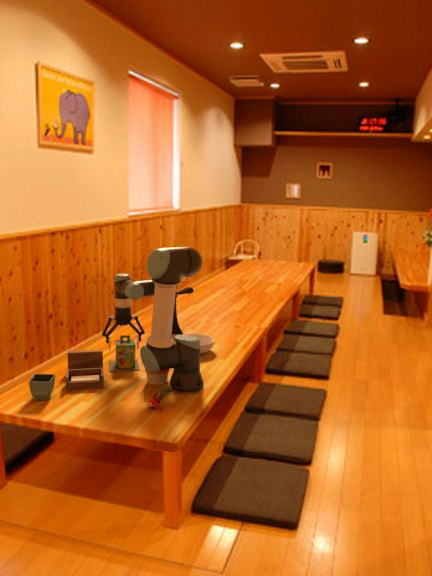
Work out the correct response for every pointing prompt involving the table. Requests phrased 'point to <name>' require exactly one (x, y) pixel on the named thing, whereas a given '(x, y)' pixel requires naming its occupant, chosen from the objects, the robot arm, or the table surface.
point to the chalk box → (125, 353)
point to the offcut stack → (84, 378)
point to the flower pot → (42, 386)
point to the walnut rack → (85, 369)
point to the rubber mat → (113, 368)
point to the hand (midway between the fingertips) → (123, 348)
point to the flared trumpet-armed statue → (175, 324)
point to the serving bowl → (204, 342)
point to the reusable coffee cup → (157, 376)
